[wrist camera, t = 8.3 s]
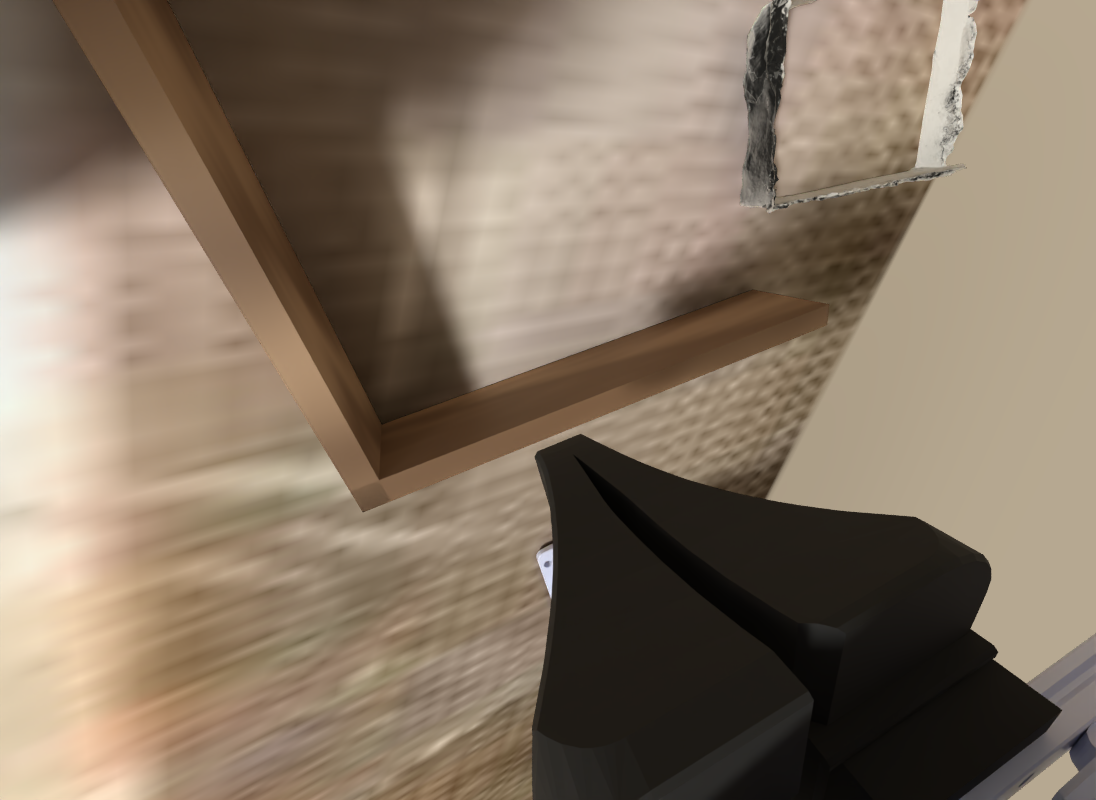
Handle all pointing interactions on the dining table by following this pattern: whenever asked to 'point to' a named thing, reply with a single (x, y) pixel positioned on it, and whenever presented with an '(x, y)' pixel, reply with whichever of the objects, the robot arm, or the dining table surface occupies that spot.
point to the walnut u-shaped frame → (302, 326)
